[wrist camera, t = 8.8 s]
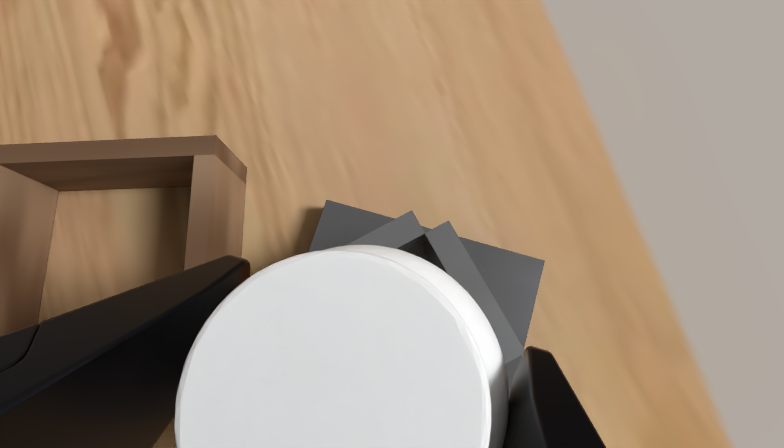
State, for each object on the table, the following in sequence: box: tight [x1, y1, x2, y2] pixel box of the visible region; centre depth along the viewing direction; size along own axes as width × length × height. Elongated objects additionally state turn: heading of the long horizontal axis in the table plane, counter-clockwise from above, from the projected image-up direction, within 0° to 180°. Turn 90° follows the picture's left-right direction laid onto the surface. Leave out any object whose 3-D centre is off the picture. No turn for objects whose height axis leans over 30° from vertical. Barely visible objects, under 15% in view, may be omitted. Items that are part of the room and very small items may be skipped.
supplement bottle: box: [174, 245, 509, 448], centre depth 11 cm, size 5×5×10 cm
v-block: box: [308, 200, 545, 396], centre depth 16 cm, size 8×8×4 cm
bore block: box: [0, 135, 247, 336], centre depth 18 cm, size 8×8×3 cm
